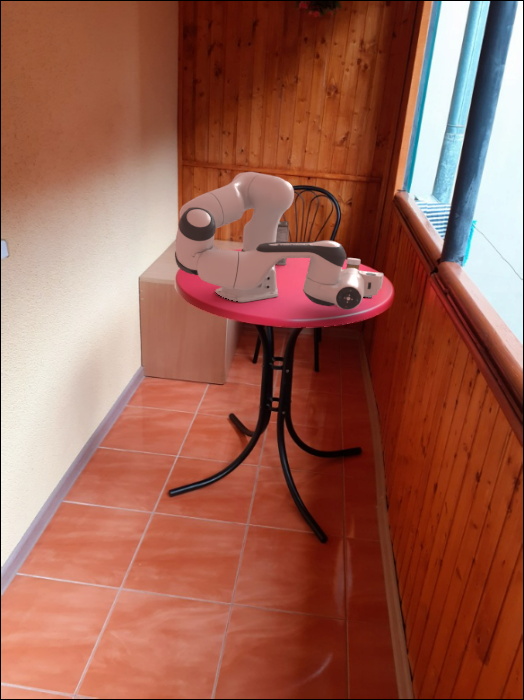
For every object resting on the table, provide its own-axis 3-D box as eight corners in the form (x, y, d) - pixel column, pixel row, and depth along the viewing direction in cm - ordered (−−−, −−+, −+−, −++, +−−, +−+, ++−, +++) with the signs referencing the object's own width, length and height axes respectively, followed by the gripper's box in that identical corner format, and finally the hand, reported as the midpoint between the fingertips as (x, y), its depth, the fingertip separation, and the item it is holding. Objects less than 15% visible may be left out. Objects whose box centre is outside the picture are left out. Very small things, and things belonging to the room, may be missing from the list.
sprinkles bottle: (339, 296, 194) (344, 257, 191) (350, 297, 196) (356, 258, 193) (346, 299, 190) (351, 258, 187) (357, 299, 192) (363, 259, 189)
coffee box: (270, 258, 238) (272, 220, 232) (286, 259, 239) (288, 221, 232) (270, 264, 230) (272, 224, 224) (286, 265, 230) (289, 225, 224)
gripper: (316, 289, 179) (320, 277, 191) (381, 295, 176) (381, 283, 188) (318, 270, 176) (321, 259, 189) (384, 276, 173) (384, 264, 186)
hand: (352, 271), depth 189 cm, fingers closed
